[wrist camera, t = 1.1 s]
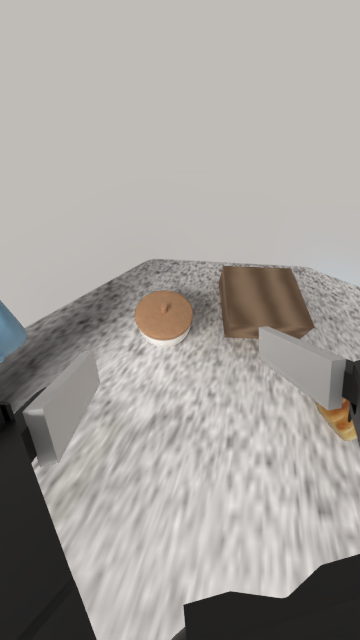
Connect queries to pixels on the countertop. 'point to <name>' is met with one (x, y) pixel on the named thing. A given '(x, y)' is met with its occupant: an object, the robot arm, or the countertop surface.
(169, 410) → the countertop surface
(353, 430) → the pastry
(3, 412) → the robot arm
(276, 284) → the walnut box
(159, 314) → the lidded jar
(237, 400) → the countertop surface
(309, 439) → the countertop surface
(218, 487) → the countertop surface
